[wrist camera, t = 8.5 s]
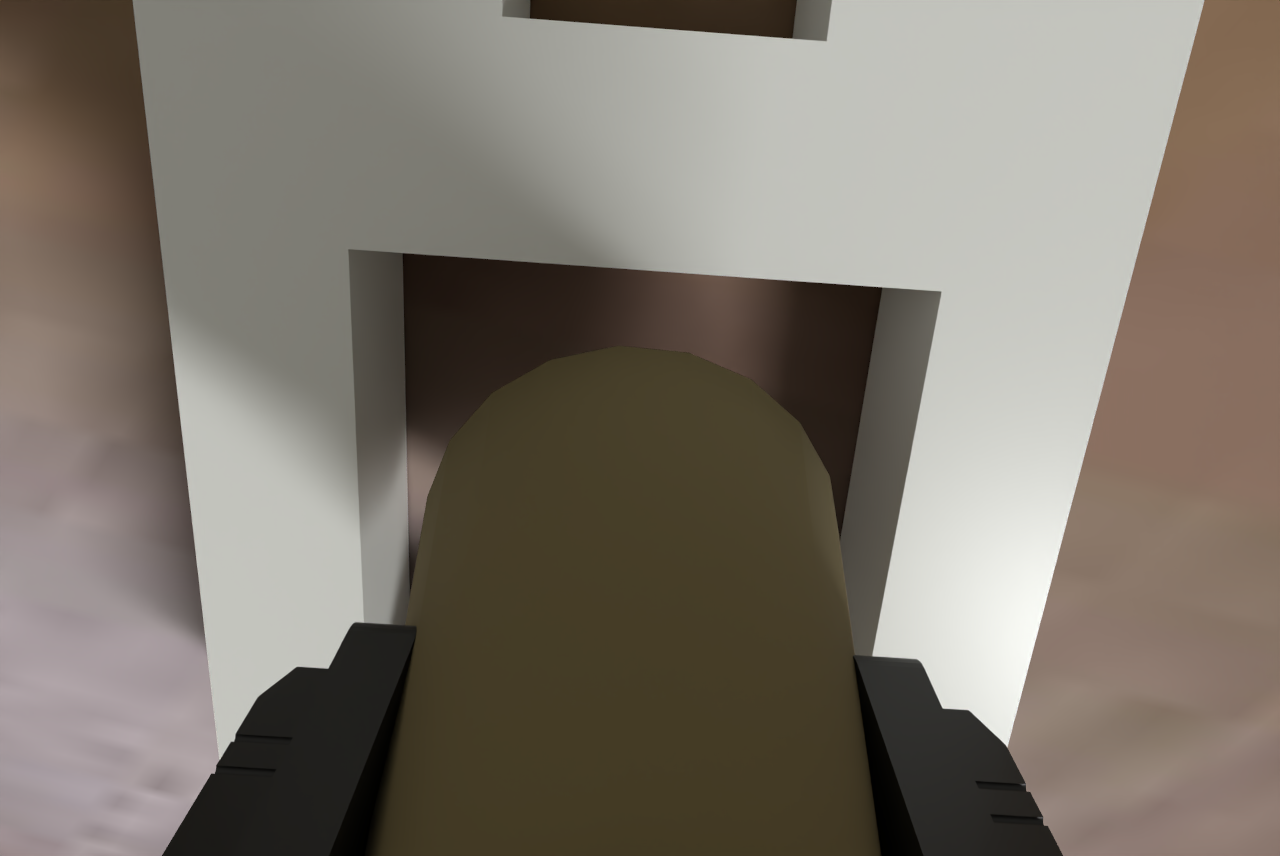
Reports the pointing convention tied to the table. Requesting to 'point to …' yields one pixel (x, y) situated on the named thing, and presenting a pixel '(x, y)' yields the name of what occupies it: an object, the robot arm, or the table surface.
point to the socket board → (652, 269)
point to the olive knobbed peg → (628, 629)
